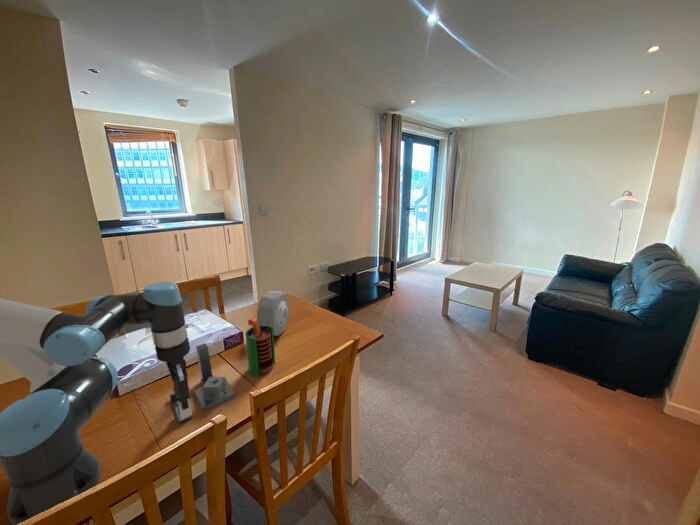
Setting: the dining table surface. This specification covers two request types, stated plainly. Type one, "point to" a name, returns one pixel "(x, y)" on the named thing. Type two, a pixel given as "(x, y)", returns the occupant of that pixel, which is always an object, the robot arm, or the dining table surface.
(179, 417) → the lever
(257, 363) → the motor
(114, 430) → the dining table surface
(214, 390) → the dice cube
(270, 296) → the dial
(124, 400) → the dining table surface
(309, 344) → the dining table surface
